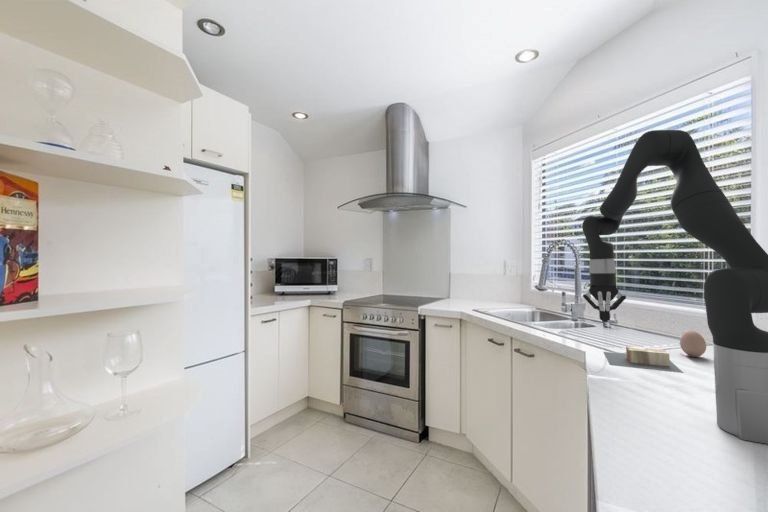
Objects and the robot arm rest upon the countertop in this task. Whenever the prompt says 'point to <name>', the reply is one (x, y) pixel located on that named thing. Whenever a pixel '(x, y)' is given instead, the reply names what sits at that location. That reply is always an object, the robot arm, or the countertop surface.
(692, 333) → the egg
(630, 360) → the birch block
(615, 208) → the robot arm
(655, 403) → the countertop surface
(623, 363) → the rubber mat
